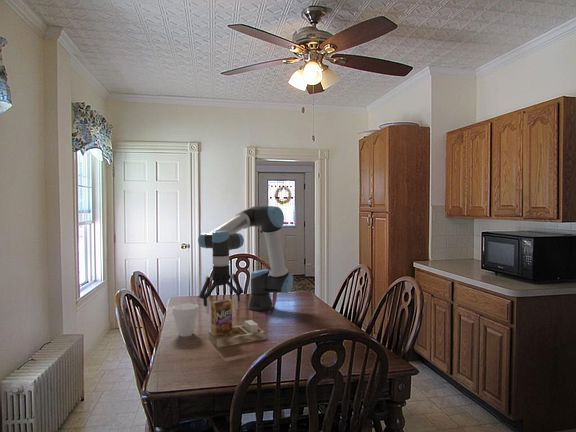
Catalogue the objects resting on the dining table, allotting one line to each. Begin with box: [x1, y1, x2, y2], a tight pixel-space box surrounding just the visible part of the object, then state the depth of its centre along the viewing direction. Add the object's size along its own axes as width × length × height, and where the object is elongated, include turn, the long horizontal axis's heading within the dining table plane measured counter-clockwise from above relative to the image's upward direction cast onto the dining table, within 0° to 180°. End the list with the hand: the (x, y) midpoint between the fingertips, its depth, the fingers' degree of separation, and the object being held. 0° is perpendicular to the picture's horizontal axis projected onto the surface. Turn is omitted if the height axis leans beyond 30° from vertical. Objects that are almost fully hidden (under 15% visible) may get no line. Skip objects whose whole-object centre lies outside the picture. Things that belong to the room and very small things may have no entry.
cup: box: [172, 303, 199, 338], centre depth 190 cm, size 12×12×14 cm
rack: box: [207, 324, 267, 348], centre depth 181 cm, size 23×16×4 cm
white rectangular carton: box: [243, 319, 259, 333], centre depth 184 cm, size 4×8×6 cm, turn 28°
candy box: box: [210, 298, 233, 336], centre depth 177 cm, size 9×4×15 cm, turn 123°
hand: (222, 310), depth 177 cm, fingers open, 13 cm apart
